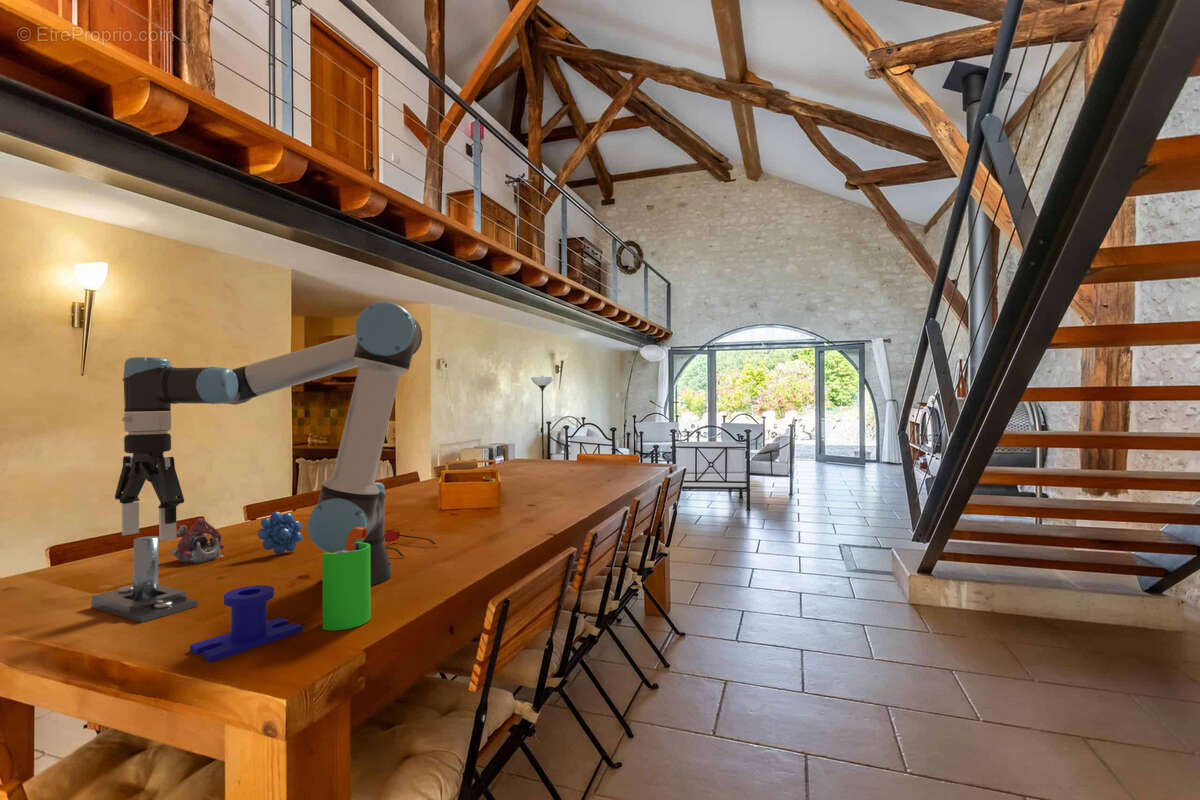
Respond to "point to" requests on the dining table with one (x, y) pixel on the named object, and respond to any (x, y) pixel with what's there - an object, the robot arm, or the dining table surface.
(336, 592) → the green half cylinder
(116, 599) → the slotted grey clamp plate
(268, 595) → the mount
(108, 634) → the dining table surface
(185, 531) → the red grey peaked figurine
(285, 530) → the grapes
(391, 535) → the glasses
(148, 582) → the pin
